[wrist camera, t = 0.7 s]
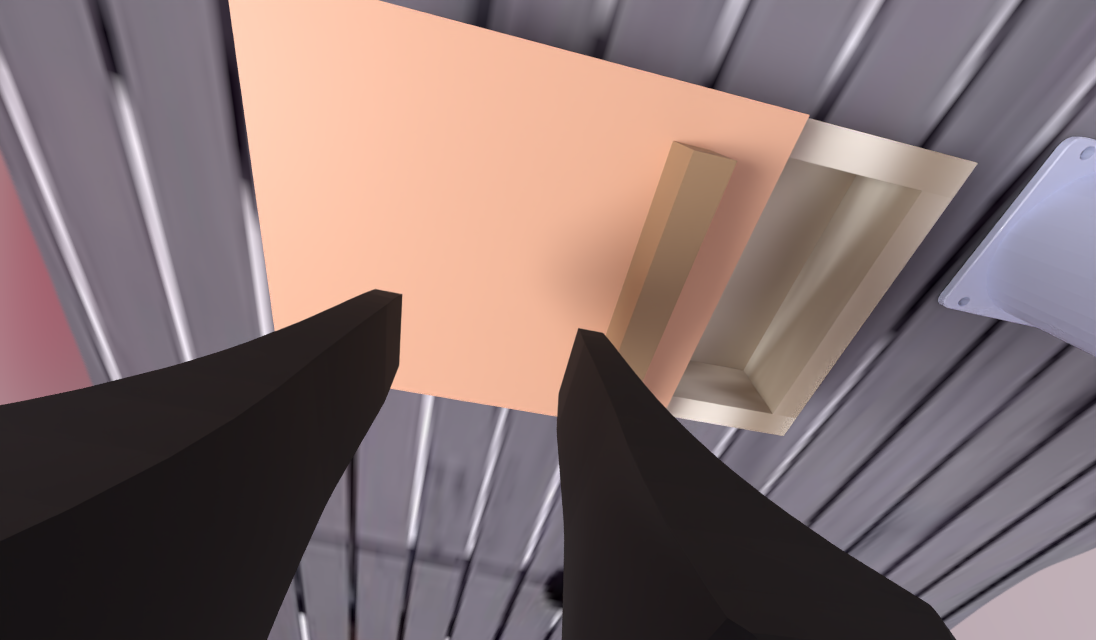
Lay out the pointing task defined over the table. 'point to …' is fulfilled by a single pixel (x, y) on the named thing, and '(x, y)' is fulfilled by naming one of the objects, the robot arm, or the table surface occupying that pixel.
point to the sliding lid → (495, 192)
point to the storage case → (813, 273)
